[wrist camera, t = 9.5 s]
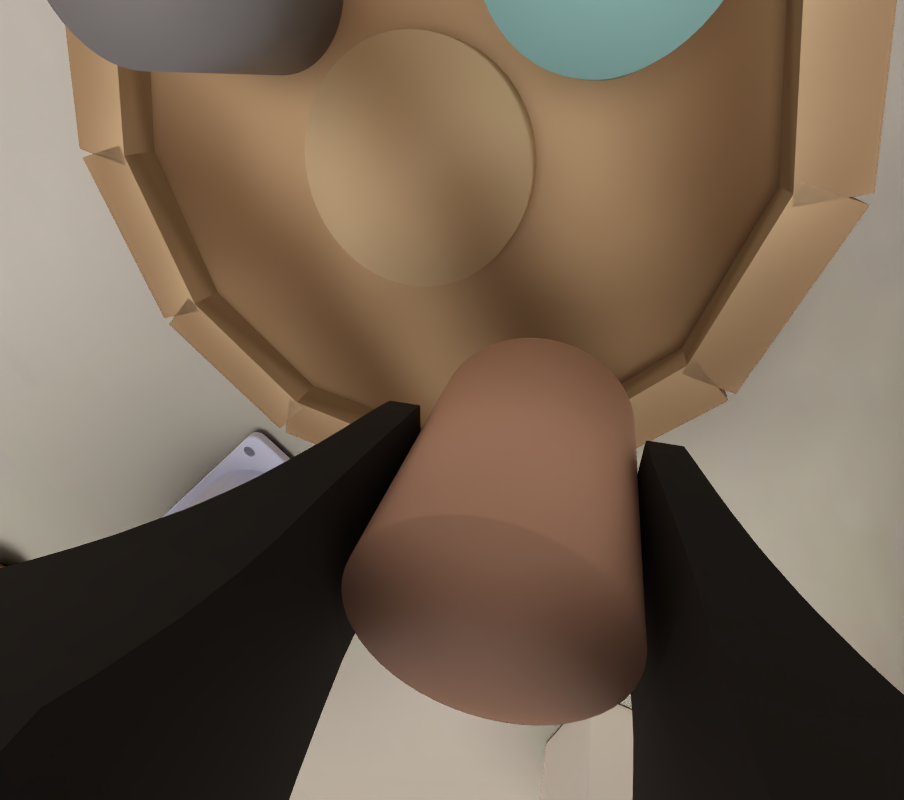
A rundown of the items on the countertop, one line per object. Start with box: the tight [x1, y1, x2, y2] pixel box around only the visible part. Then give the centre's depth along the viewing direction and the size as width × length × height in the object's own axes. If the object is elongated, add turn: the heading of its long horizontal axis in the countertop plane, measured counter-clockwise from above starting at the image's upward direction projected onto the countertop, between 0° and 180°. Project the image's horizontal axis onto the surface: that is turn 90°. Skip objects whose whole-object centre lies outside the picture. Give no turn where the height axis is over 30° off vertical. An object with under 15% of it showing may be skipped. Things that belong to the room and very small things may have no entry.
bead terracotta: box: [341, 338, 647, 725], centre depth 9 cm, size 4×4×5 cm
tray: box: [65, 0, 897, 448], centre depth 14 cm, size 20×20×2 cm
